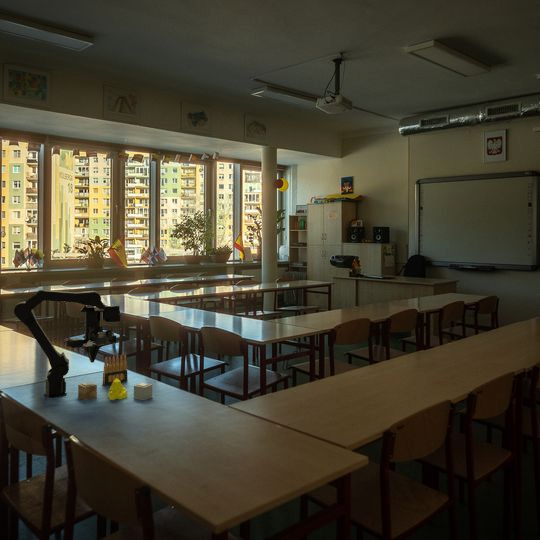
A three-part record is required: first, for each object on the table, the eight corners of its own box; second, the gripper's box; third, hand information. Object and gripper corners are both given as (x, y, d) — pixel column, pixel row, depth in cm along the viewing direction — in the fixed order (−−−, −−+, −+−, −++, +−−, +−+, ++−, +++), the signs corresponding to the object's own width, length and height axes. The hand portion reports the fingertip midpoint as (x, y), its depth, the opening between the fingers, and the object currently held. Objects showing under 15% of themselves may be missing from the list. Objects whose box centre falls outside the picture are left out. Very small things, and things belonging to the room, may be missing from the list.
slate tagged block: (144, 400, 200) (144, 386, 200) (133, 398, 202) (133, 385, 202) (152, 397, 205) (152, 383, 205) (141, 395, 207) (141, 382, 207)
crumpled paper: (130, 395, 206) (130, 375, 206) (117, 401, 199) (118, 380, 198) (117, 393, 208) (118, 374, 208) (104, 399, 201) (105, 378, 200)
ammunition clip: (104, 385, 218) (105, 357, 218) (102, 384, 220) (102, 356, 219) (127, 381, 226) (128, 353, 225) (125, 380, 227) (125, 353, 227)
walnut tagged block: (84, 400, 198) (84, 386, 198) (78, 397, 202) (78, 383, 201) (96, 397, 202) (97, 384, 202) (90, 394, 205) (90, 381, 205)
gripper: (80, 328, 195) (80, 369, 195) (124, 323, 208) (124, 362, 209) (66, 324, 202) (65, 364, 203) (110, 320, 216) (109, 357, 217)
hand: (92, 362), depth 208 cm, fingers closed
